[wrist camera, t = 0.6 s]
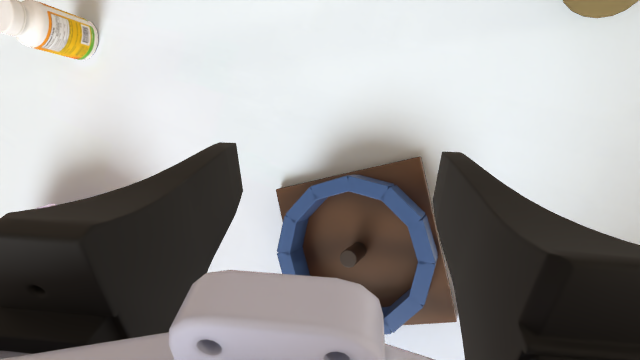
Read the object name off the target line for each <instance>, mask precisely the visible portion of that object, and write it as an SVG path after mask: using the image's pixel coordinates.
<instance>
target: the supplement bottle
mask: <svg viewBox="0 0 640 360" xmlns="http://www.w3.org/2000/svg"><path fill="white" fill-rule="evenodd" d="M0 33H3V34H7V35H10V36H15V37H16V38H17V40H18V41H19V42H20V43H22V44H23V45H25V46H28V47H31V48H35V49H39V50H43V51H47V52H51V53H55V54H59V55H62V56H66V57H70V58H74V59H78V60H87V59H89V58H90V57H91V56H92V55H93V54H94V52H95V51H96V48H97V44H98V34H97V30H96V28H95V26H94V25H93V24H92V23H91V22H90V21H88V20H86V19H84V18H81V17H78V16H75V15H73V14H70V13H67V12H65V11H62V10H59V9H56V8H54V7H51V6H48V5H46V4H43V3H41V2H38V1H34V0H24V1H22V2H20V1H18V0H0Z"/></svg>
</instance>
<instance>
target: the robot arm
mask: <svg viewBox="0 0 640 360" xmlns="http://www.w3.org/2000/svg"><path fill="white" fill-rule="evenodd" d="M242 192H243V188H242V181H241V174H240V167H239V161H238V154H237V147H236V143H217V144H214V145H212V146H210V147H208V148H206V149H204V150H202V151H201V152H199V153H197V154H195V155H193V156H191V157H189V158H188V159H186V160H184V161H182V162H180V163H178V164H176V165H174V166H172V167H170V168H168V169H166V170H164V171H162V172H160V173H158V174H156V175H154V176H151V177H149V178H147V179H144V180H142V181H139V182H137V183H134V184H132V185H129V186H126V187H123V188H120V189H117V190H114V191H110V192H107V193H104V194H101V195H97V196H94V197H90V198H86V199H82V200H78V201H74V202H69V203H65V204H60V205H55V206H50V207H44V208H37V209H31V210H25V211H19V212H11V213H8V214H6V215H4V216H3V217H2V218H0V360H434V359H431V358H428V357H425V356H422V355H419V354H416V353H412V352H409V351H406V350H403V349H400V348H397V347H394V346H391V345H387V344H385V340H384V318H383V312H382V309H381V305H380V301H379V299H378V298H377V297H376V296H375V295H373V294H372V293H371V292H370V291H368V290H367V289H366V288H365V287H364V286H362V285H361V284H358V283H354V282H350V281H346V280H342V279H339V278H330V277H317V276H304V275H290V274H277V273H264V272H250V271H237V270H226V271H218V272H211V273H207V271H208V268H209V266H210V264H211V262H212V259H213V257H214V255H215V253H216V252H217V250H218V248H219V246H220V244H221V242H222V240H223V238H224V236H225V234H226V232H227V230H228V228H229V226H230V224H231V222H232V220H233V218H234V216H235V214H236V211H237V208H238V205H239V202H240V199H241V195H242ZM433 206H434V214H435V221H436V226H437V230H438V233H439V237H440V240H441V244H442V247H443V250H444V254H445V257H446V260H447V264H448V267H449V270H450V274H451V277H452V281H453V285H454V290H455V296H456V302H457V307H458V313H459V320H460V326H461V333H462V339H463V347H464V354H465V360H640V245H637V244H634V243H630V242H627V241H624V240H621V239H618V238H615V237H612V236H609V235H606V234H603V233H600V232H598V231H595V230H592V229H590V228H587V227H585V226H582V225H580V224H577V223H575V222H573V221H571V220H568V219H566V218H564V217H561V216H559V215H557V214H555V213H553V212H551V211H549V210H547V209H545V208H543V207H541V206H539V205H538V204H536V203H534V202H532V201H530V200H528V199H527V198H525V197H523V196H522V195H520V194H519V193H517V192H516V191H514V190H512V189H511V188H509V187H508V186H506V185H505V184H503V183H502V182H501V181H499V180H498V179H496V178H495V177H494V176H492V175H491V174H490V173H488V172H487V171H486V170H484V169H483V168H482V167H480V166H479V165H478V164H476V163H475V162H474V161H473V160H471V159H470V158H468V157H467V156H466V155H464V154H463V153H460V152H442V156H441V161H440V166H439V171H438V177H437V182H436V187H435V192H434V198H433Z"/></svg>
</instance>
